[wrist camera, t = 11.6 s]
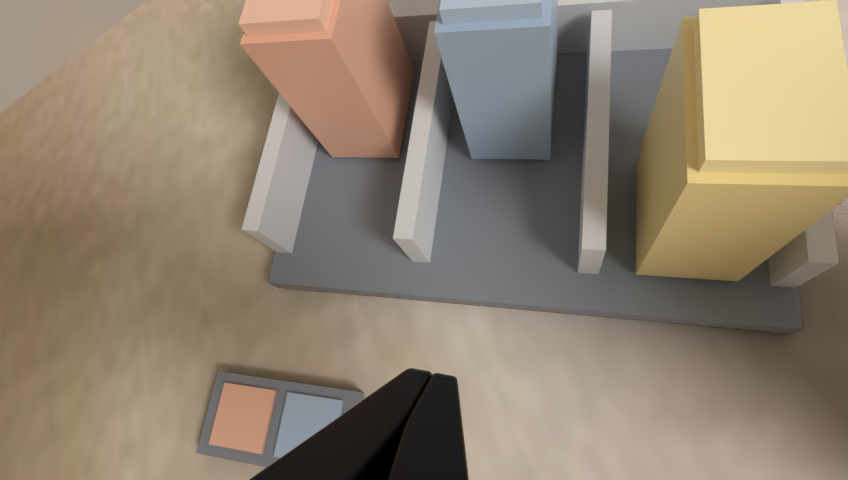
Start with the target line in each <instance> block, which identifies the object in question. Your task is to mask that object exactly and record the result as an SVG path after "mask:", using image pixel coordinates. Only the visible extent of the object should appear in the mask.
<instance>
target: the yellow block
mask: <svg viewBox="0 0 848 480" xmlns="http://www.w3.org/2000/svg"><path fill="white" fill-rule="evenodd" d="M847 197H848V71H847V65H846V58H845V52H844V46H843V39H842V33H841V26H840V20H839V13H838V7H837V0H830V1H814V2H799V3H783V4H767V5H752V6H736V7H721V8H705V9H699V10H698V13H697V16H696V17H684V18H682V21H681V24H680V27H679V30H678V33H677V36H676V39H675V42H674V45H673V49H672V52H671V55H670V58H669V61H668V64H667V67H666V70H665V73H664V76H663V80H662V83H661V86H660V89H659V92H658V95H657V98H656V101H655V104H654V107H653V111H652V114H651V117H650V120H649V123H648V126H647V129H646V132H645V135H644V138H643V142H642V145H641V148H640V151H639V154H638V157H637V160H636V275H649V276H664V277H679V278H694V279H709V280H723V281H739V280H740V279H742V278H743V277H744V276H746V275H747V274H748V273H750V272H751V271H752V270H754V269H755V268H756V267H757V266H759V265H760V264H761V263H763V262H764V261H765V260H767V259H768V258H769V257H770V256H772V255H773V254H774V253H776V252H777V251H778V250H780V249H781V248H782V247H784V246H785V245H786V244H787V243H789V242H790V241H791V240H793V239H794V238H795V237H797V236H798V235H799V234H800V233H802V232H803V231H804V230H806V229H807V228H808V227H810V226H811V225H812V224H814V223H815V222H816V221H817V220H819V219H820V218H821V217H823V216H824V215H825V214H827V213H828V212H829V211H830V210H832V209H833V208H834V207H836V206H837V205H838V204H840V203H841V202H842V201H844V200H845V199H846V198H847Z"/></svg>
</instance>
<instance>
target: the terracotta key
mask: <svg viewBox="0 0 848 480" xmlns="http://www.w3.org/2000/svg"><path fill="white" fill-rule="evenodd" d="M238 25H239V26H240V27H241V29H242V30H243V31H244V32H243V35H242V38H241V41H240V45H241V47H242V48H243V49H244V50H245V51H246V53H247V54H248V55H249V56H250V57H251V59H252V60H253V61H254V62H255V64H256V65H257V66H258V67H259V68H260V70H261V71H262V72H263V73H264V75H265V76H266V77H267V78H268V79H269V81H270V82H271V83H272V84H273V86H274V87H275V88H276V89H277V90H278V92H279V93H280V94H281V95H282V97H283V98H284V99H285V100H286V101H287V103H288V104H289V105H290V106H291V108H292V109H293V110H294V111H295V112H296V114H297V115H298V116H299V117H300V119H301V120H302V121H303V122H304V123H305V125H306V126H307V127H308V128H309V130H310V131H311V132H312V133H313V134H314V136H315V137H316V138H317V139H318V140H319V142H320V143H321V144H322V145H323V147H324V148H325V149H326V150H327V151H328V153H329V154H330V155H331V156H332V157H366V158H399V156H400V150H401V145H402V139H403V133H404V128H405V122H406V116H407V110H408V105H409V99H410V93H411V88H412V82H413V76H414V68H413V65H412V63H411V60H410V58H409V55H408V52H407V50H406V47H405V45H404V42H403V40H402V37H401V34H400V32H399V29H398V27H397V24H396V21H395V19H394V16H393V14H392V11H391V8H390V6H389V3H388V1H387V0H246V1H245V4H244V7H243V10H242V14H241V17H240V20H239V23H238Z"/></svg>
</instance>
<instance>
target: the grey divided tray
mask: <svg viewBox="0 0 848 480" xmlns="http://www.w3.org/2000/svg"><path fill="white" fill-rule="evenodd" d="M799 2H805V0H558V25H557V71H556V86H555V101H554V116H553V131H552V146H551V160H532V159H472V158H471V155H470V151H469V148H468V145H467V141H466V138H465V135H464V131H463V128H462V125H461V121H460V118H459V115H458V111H457V108H456V105H455V101H454V98H453V95H452V91H451V88H450V85H449V81H448V78H447V75H446V71H445V68H444V65H443V61H442V58H441V54H440V51H439V48H438V44H437V41H436V38H435V34H434V30H435V24H436V18H437V12H438V6H439V0H395V1H388V3H389V6H390V8H391V11H392V14H393V16H394V19H395V21H396V24H397V27H398V29H399V32H400V34H401V37H402V40H403V42H404V45H405V47H406V50H407V52H408V55H409V58H410V60H411V63H412V65H413V68H414V76H413V82H412V88H411V93H410V99H409V105H408V110H407V116H406V122H405V128H404V133H403V139H402V145H401V150H400V156H399V158H366V157H332V156H331V155H330V154H329V153H328V151H327V150H326V149H325V148H324V147H323V145H322V144H321V143H320V142H319V140H318V139H317V138H316V137H315V136H314V134H313V133H312V132H311V131H310V130H309V128H308V127H307V126H306V125H305V123H304V122H303V121H302V120H301V119H300V117H299V116H298V115H297V114H296V112H295V111H294V110H293V109H292V108H291V106H290V105H289V104H288V103H287V101H286V100H285V99H284V98H283V97H282V95H281V94H280V93H279V94H278V98H277V101H276V105H275V109H274V112H273V116H272V120H271V123H270V127H269V131H268V134H267V138H266V142H265V145H264V149H263V153H262V156H261V160H260V164H259V167H258V171H257V174H256V178H255V182H254V185H253V189H252V193H251V196H250V200H249V204H248V207H247V211H246V215H245V218H244V222H243V226H242V229H241V230H242V231H244V232H245V233H247V234H249V235H250V236H252V237H253V238H255V239H257V240H258V241H260V242H261V243H263V244H264V245H266V246H268V247H269V248H271V249H272V250H274V251H275V255H274V259H273V263H272V267H271V271H270V275H269V279H268V283H270V284H272V285H274V286H276V287H278V288H287V289H298V290H309V291H320V292H331V293H343V294H354V295H365V296H376V297H387V298H398V299H409V300H421V301H432V302H443V303H454V304H465V305H476V306H487V307H499V308H510V309H521V310H532V311H543V312H554V313H566V314H577V315H588V316H599V317H610V318H621V319H632V320H644V321H655V322H666V323H677V324H688V325H699V326H710V327H722V328H733V329H744V330H755V331H766V332H777V333H789V334H791V333H794V332H796V331H799V330H802V329H803V324H802V315H801V305H800V295H799V286H800V285H801V284H803V283H805V282H807V281H808V280H810V279H812V278H814V277H816V276H817V275H819V274H821V273H823V272H825V271H826V270H828V269H830V268H832V267H833V266H835V265H837V264H839V258H838V250H837V242H836V235H835V227H834V219H833V212H832V210H830V211H829V212H828V213H827V214H825V215H824V216H823V217H821V218H820V219H819V220H817V221H816V222H815V223H814V224H812V225H811V226H810V227H808V228H807V229H806V230H804V231H803V232H802V233H800V234H799V235H798V236H797V237H795V238H794V239H793V240H791V241H790V242H789V243H787V244H786V245H785V246H784V247H782V248H781V249H780V250H778V251H777V252H776V253H774V254H773V255H772V256H770V257H769V258H768V259H767V260H765V261H764V262H763V263H761V264H760V265H759V266H757V267H756V268H755V269H754V270H752V271H751V272H750V273H748V274H747V275H746V276H744V277H743V278H742V279H740V280H739V281H723V280H709V279H694V278H679V277H664V276H649V275H636V160H637V157H638V154H639V151H640V148H641V145H642V142H643V138H644V135H645V132H646V129H647V126H648V123H649V120H650V117H651V114H652V111H653V107H654V104H655V101H656V98H657V95H658V92H659V89H660V86H661V83H662V80H663V76H664V73H665V70H666V67H667V64H668V61H669V58H670V55H671V52H672V49H673V45H674V42H675V39H676V36H677V33H678V30H679V27H680V24H681V21H682V18H684V17H696V16H697V13H698V10H699V9H705V8H721V7H736V6H752V5H767V4H783V3H799Z"/></svg>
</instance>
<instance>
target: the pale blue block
mask: <svg viewBox="0 0 848 480" xmlns="http://www.w3.org/2000/svg"><path fill="white" fill-rule="evenodd" d="M557 25H558V0H439V6H438V12H437V18H436V24H435V30H434V34H435V38H436V41H437V44H438V48H439V51H440V54H441V58H442V61H443V65H444V68H445V71H446V75H447V78H448V81H449V85H450V88H451V91H452V95H453V98H454V101H455V105H456V108H457V111H458V115H459V118H460V121H461V125H462V128H463V131H464V135H465V138H466V141H467V145H468V148H469V151H470V155H471V158H472V159H532V160H551V146H552V131H553V116H554V101H555V86H556V71H557Z"/></svg>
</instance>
